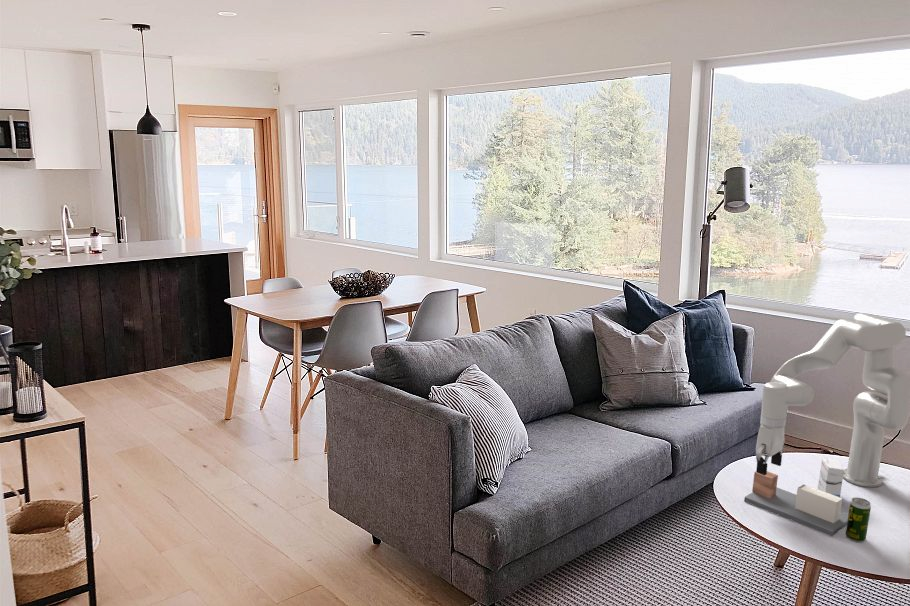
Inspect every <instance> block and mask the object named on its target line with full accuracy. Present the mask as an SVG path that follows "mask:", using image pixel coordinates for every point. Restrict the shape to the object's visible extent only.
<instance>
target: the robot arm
mask: <svg viewBox="0 0 910 606" xmlns="http://www.w3.org/2000/svg"><path fill="white" fill-rule="evenodd" d="M906 333H907V331H906V328H905V326H904V325H903V324H902V323H900V322H899V321H896V320H893V319H889V318H887V317H881V316H880V315H875V314H871V313H867V312H861V313H857V314H855V315H854V316H853V317H852V319H848V318H841V319H838V320H836V321H835V322H834V323H833V324H832V325H831V326H830V327H829V329H828V330H826V332H825V333H824V334H823V335H822V337H821V338H820V339H819V340H818V342H816V344H814V346H813V347H812V349H810V350H809V351H806V352H804V353H801V354H799V355H797V356H794V357H793V358H790V359H788V360H787V361H786V362H784V363H783V364H782V365H781V366H780V368H779V369H778V370H777V371H776V372H775V373H774V375H773V376H772V377H771V379H770V381H769V382H766V383H765V384H764V385H763V388H762V396H761V397H762V399H761V411H760V426H759V429H758V432H757V433H758V434H757V439H756V446H755V457H756V458H755V459H756V471H755V472H757V473H760V474H762V475H766V474H767V471H768V463H767V462H768V460H769V458H771V459H770V460H771V461H770V464H772V465H775V466H778V467H781V466H782V461H783V453H784V450H783V449H784V448H785V443H786V442H785V441H786V438H785V428H786V424H787V415H788V413H787V412H788V407H792V406H793V407H803V406H804V407H805V406H807V405H809V404H810V403H811V402H813V400H814V398H815V391H814V389H813V388H812V386H810V385H809V384H807V383H805V382H803V381H801V380H799V379H796V378H797V377H798V376H800V375H802V374H803V373H806V372H809V371H816V370H828V369H832V368H834V367H835V366H836V365H837V364H838V363H839V361H841V359H842V358H843V357H844V356H845V354H846V353H847V352H848V351H849V350H850V349H855V350H857V351H861V352H864V353H865V354H864V359H863V360H864V361H863V362H864V363H863V370H862V379H861V381H862V384H863V385H864V386H865V387H866V388H867V389H869V390H872V391H862V392H860V393H859V394H857V395H856V397H854V400H853V402H852V403H853V404H852V408H853V409H852V411H853V412H852V413H853V427H852V428H853V429H852V434H851V441H850V449H849V454H848V455H849V456H848V462H847V468H845V469H844V473H843V480H845V481H847V482H848V483H851V484H853V485H856V486H861V487H865V488H866V487H867V488H877V487H881V486H882V484H883V478H882V477H880V475H879V472H880V466H881V458H882V452H883V446H884V440H885V430H884V428H886V429H888V430H892V431H900V430H903V429H904V428H905V427H906V426H907V424H908V422H909V419H910V373H909V372H906V371H905V370H902V369H900V368H896V367H895V365H894V361H895V347H898V346H899V345H900V344H902V343H903V341H904V340H905V338H906V335H907V334H906ZM873 391H874V392H873ZM879 393H880V394H879Z"/></svg>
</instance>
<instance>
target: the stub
mask: <svg viewBox="0 0 910 606" xmlns="http://www.w3.org/2000/svg"><path fill="white" fill-rule="evenodd" d="M778 479H779V475H778V474H776V473H773V472H770V471H768V470H767V474H766V475H762V474H760V473H757V472H756V471H754V475H753V482H752V492H754V493H757V494H760V495H762V496H765V497H767V498H771V497H773V496H774V495H776V488H778V487H777V486H778ZM752 492H751V493H752Z"/></svg>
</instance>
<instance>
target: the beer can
mask: <svg viewBox="0 0 910 606" xmlns="http://www.w3.org/2000/svg"><path fill="white" fill-rule="evenodd" d="M871 508H872V507H871V502H870V500H867V499H866V498H863V497H862V498H861V497H852V498H851V500H850V502H849V508H848V513H847V514H848V521H847V525H846V528H845V537H846V538H847V540H849V541H851V542H854V543H861V544H862V543H864V542H865V541H866V540H867V536H868V535H867V533H868V528H869V521H870V516H871Z"/></svg>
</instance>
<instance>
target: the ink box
mask: <svg viewBox="0 0 910 606" xmlns="http://www.w3.org/2000/svg"><path fill="white" fill-rule="evenodd" d="M844 470H845V469H844V468H843V467H842V465H841V463H840V462H839V460H838V459H833V458H827V457H822V458H821V464H820V469H819V476H818V477H819V478H818V484H817V489H818V490H821V491H823V492H826V493H829V494H832V495H834V496H837V497H840V498H841V494H842V485H843V480H844V478H843V473H844Z"/></svg>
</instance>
